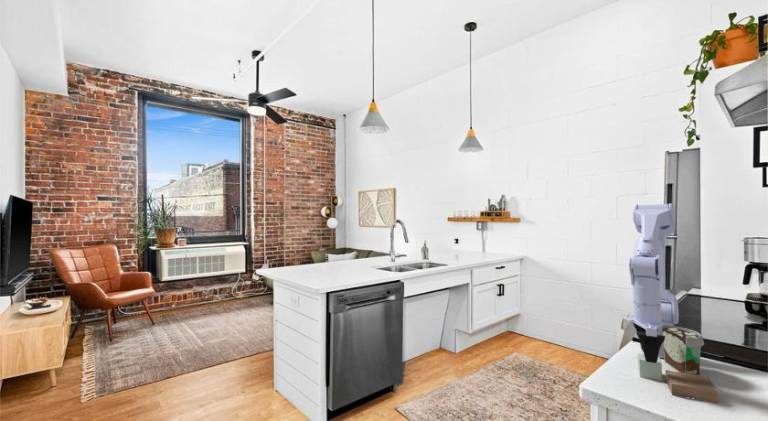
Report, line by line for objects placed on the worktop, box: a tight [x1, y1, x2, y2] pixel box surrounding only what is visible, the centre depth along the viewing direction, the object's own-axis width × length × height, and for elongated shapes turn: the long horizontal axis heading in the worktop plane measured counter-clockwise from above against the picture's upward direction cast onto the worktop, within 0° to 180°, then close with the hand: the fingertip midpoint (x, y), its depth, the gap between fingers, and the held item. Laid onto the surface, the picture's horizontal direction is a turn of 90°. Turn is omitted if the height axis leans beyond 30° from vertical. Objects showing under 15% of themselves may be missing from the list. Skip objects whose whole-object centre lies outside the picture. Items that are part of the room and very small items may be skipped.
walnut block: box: [665, 369, 720, 404], centre depth 84 cm, size 8×8×3 cm
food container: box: [661, 325, 705, 375], centre depth 95 cm, size 12×6×10 cm, turn 168°
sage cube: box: [637, 353, 663, 381], centre depth 93 cm, size 4×4×4 cm
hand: (649, 356), depth 93 cm, fingers open, 7 cm apart
